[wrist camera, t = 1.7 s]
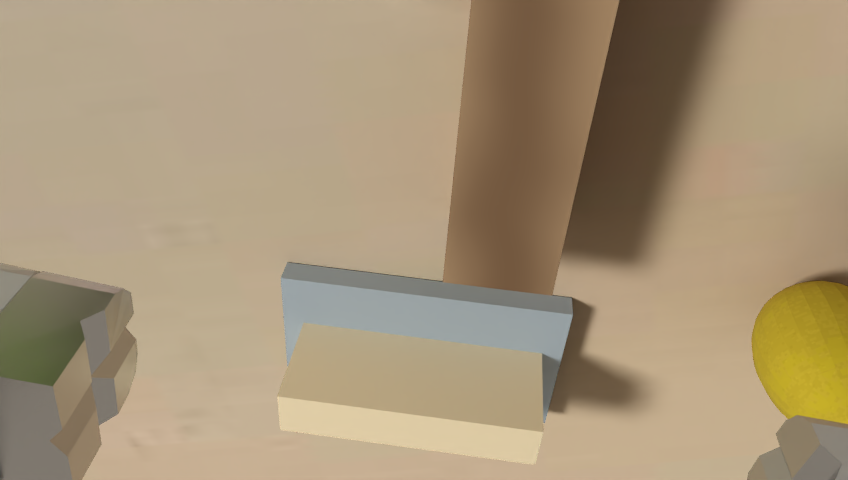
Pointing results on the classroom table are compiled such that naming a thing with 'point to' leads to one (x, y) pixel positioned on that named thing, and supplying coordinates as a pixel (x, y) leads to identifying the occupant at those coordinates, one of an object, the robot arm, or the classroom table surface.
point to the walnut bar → (523, 137)
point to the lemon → (805, 350)
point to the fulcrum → (419, 362)
